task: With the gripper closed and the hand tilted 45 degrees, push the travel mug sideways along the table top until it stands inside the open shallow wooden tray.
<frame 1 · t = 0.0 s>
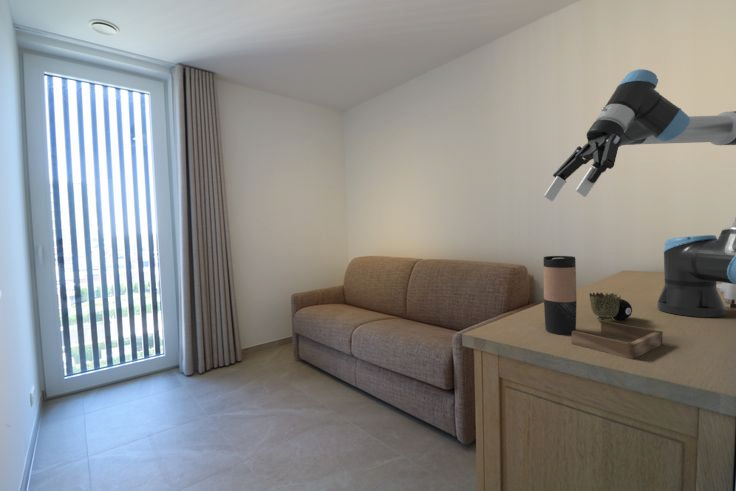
hand: (563, 196, 89), 36 cm above the table, tool tilted 35°, fingers open, 13 cm apart
cup: (605, 322, 99), on the table
shallow wooden tray: (615, 343, 81), on the table
billiard ball: (618, 319, 101), on the table
travel mug: (560, 331, 92), on the table
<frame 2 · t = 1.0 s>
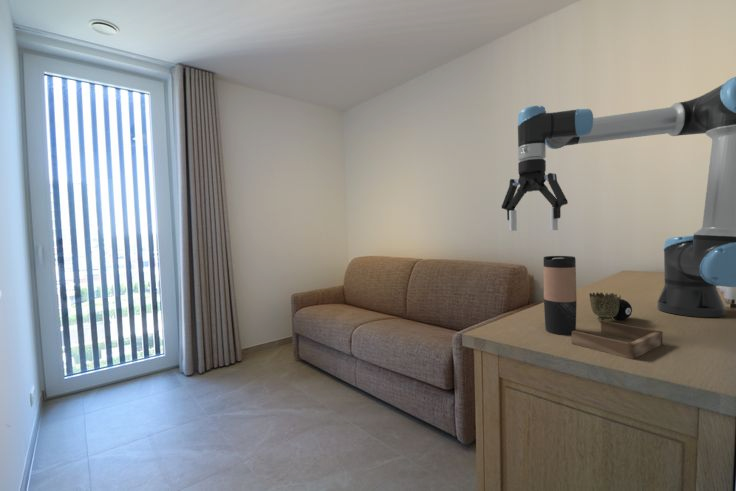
hand: (532, 230, 105), 27 cm above the table, tool pointing down, fingers open, 13 cm apart
nothing on the table moved.
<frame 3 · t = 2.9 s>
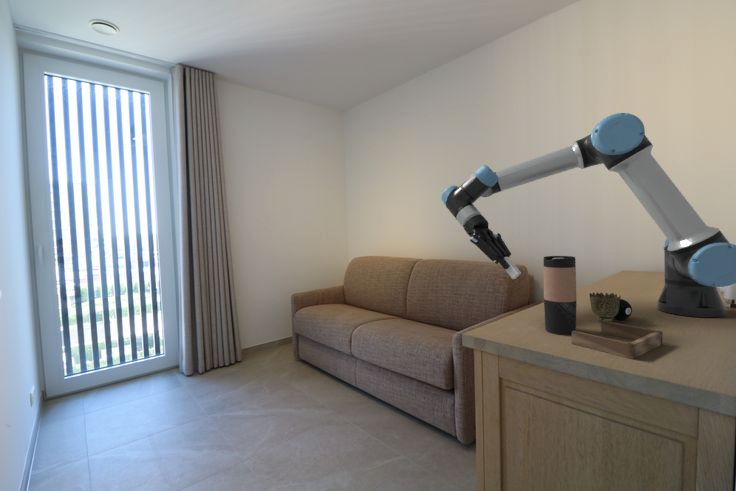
hand: (516, 275, 103), 14 cm above the table, tool tilted 45°, fingers closed
nothing on the table moved.
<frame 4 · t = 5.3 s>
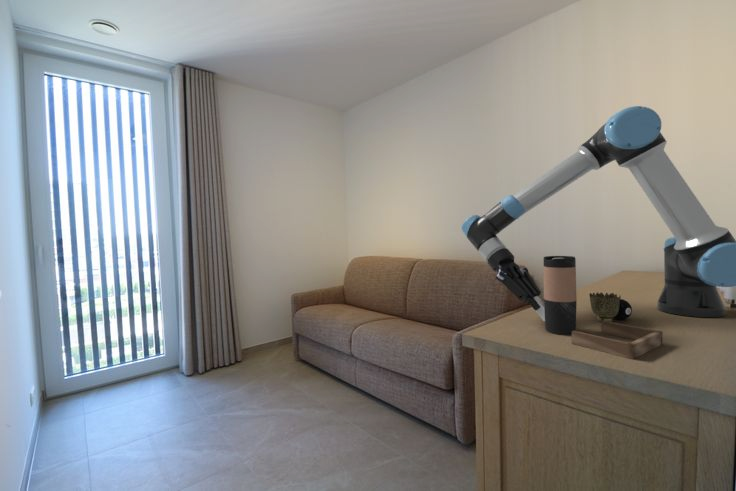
hand: (548, 318, 95), 3 cm above the table, tool tilted 45°, fingers closed
travel mug: (560, 331, 92), on the table, touching gripper
everything else where it was.
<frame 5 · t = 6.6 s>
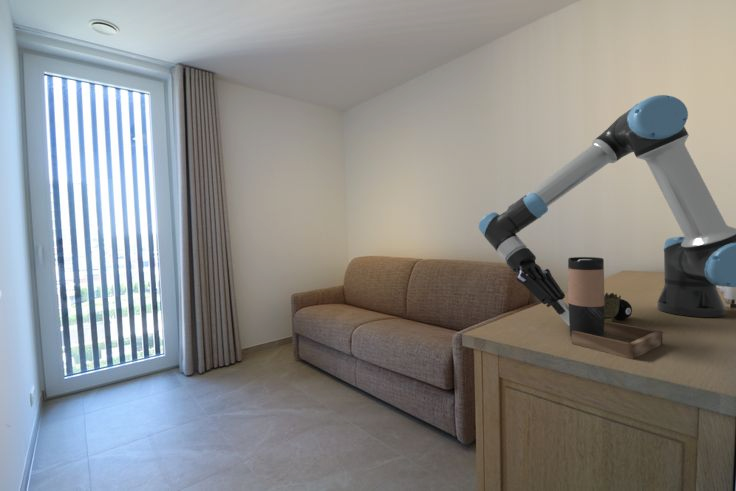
hand: (574, 323, 88), 3 cm above the table, tool tilted 45°, fingers closed
travel mug: (586, 338, 86), on the table, touching gripper
everything else where it was.
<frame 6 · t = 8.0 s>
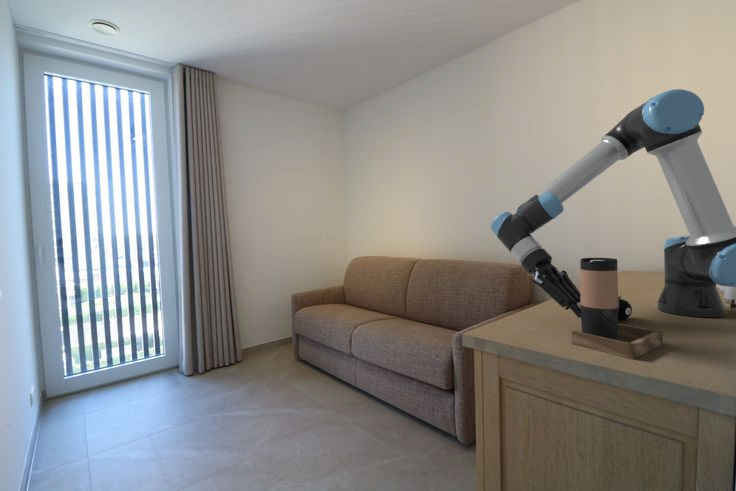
hand: (595, 326, 85), 3 cm above the table, tool tilted 45°, fingers closed
travel mug: (599, 341, 84), on the table, touching gripper
everything else where it was.
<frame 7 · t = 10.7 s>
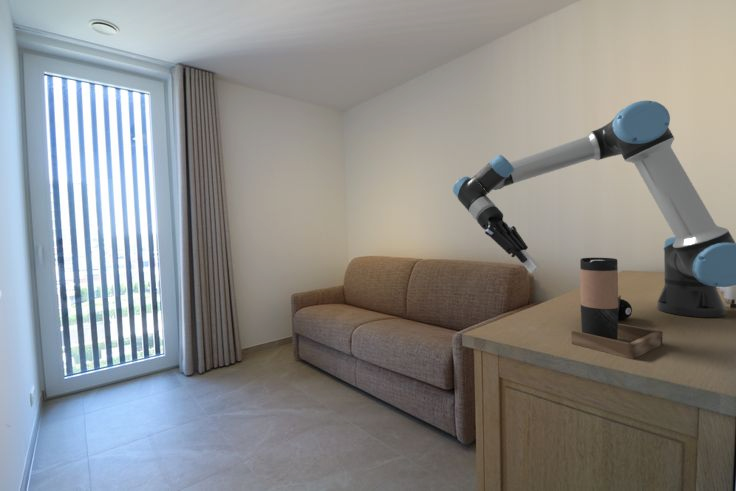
hand: (535, 269, 98), 16 cm above the table, tool tilted 45°, fingers closed
travel mug: (599, 341, 84), on the table
everything else where it was.
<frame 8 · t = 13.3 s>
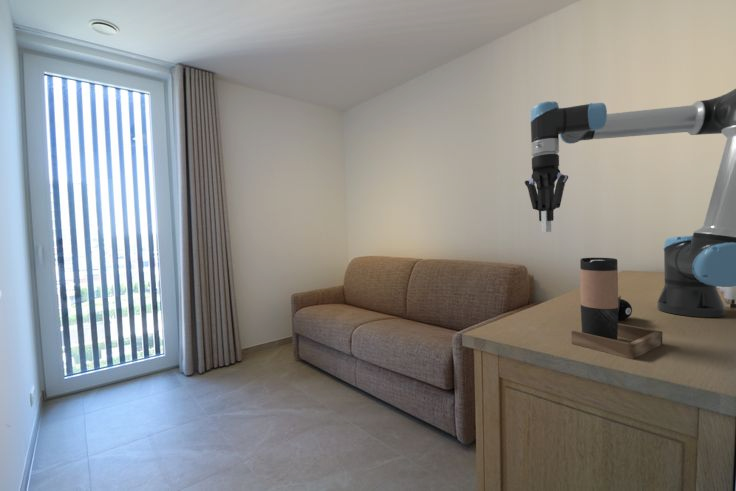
hand: (546, 231, 107), 26 cm above the table, tool pointing down, fingers closed
nothing on the table moved.
at the end: travel mug inside the target area (4.4 cm from its centre), on the table; travel mug tilted 0° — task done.
